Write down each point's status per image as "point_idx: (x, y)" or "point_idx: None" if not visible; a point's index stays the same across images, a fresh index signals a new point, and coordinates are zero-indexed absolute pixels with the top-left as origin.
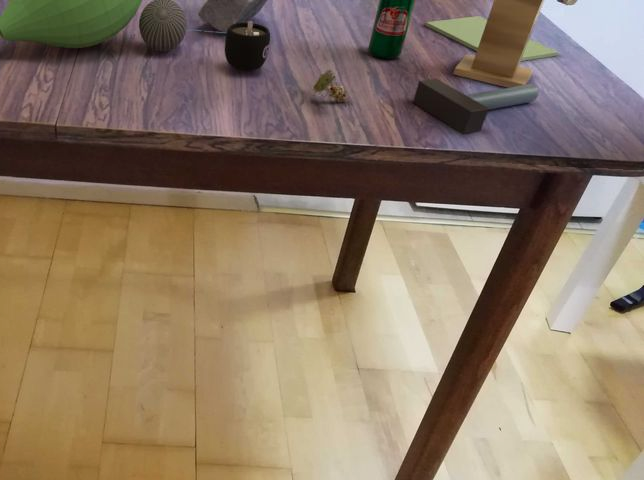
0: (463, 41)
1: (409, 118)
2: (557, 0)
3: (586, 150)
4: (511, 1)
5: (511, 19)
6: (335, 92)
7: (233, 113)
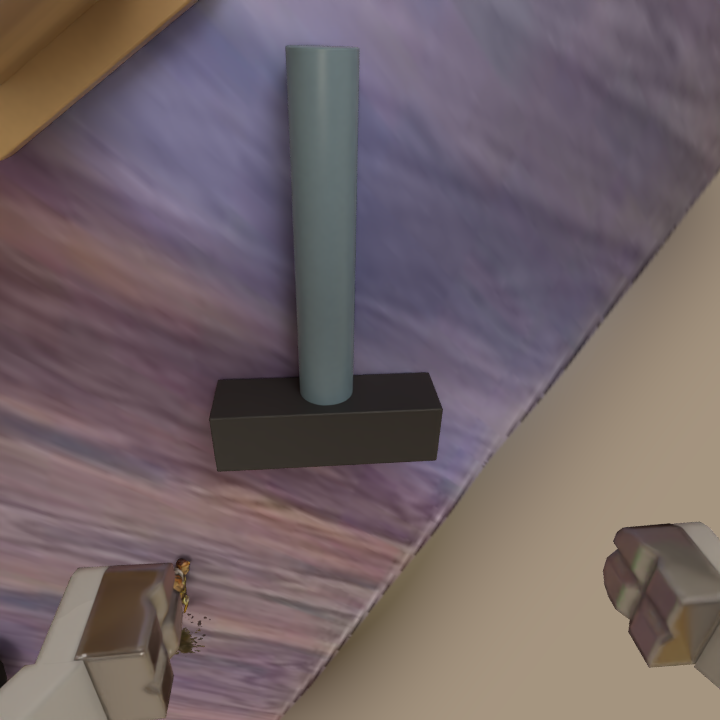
0: None
1: (304, 480)
2: (608, 580)
3: (660, 173)
4: None
5: None
6: (187, 604)
7: (191, 705)
